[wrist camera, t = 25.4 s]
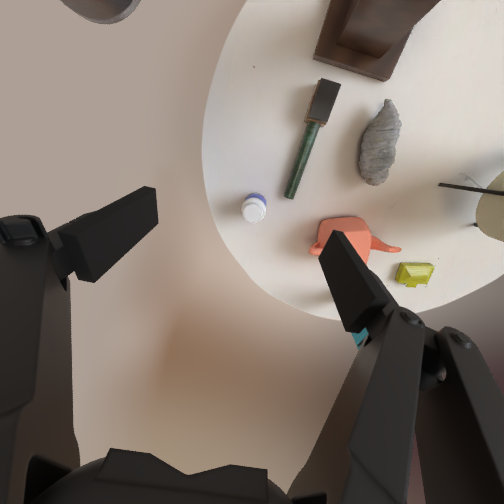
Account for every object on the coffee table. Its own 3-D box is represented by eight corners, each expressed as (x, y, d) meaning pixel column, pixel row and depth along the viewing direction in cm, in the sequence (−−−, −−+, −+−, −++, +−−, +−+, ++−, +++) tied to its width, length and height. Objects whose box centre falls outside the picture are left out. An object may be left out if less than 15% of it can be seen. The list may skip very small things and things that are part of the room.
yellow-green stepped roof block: (438, 258, 48) (447, 263, 45) (425, 287, 52) (433, 294, 49) (396, 257, 49) (403, 262, 46) (386, 286, 53) (392, 292, 50)
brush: (296, 199, 45) (297, 202, 42) (280, 194, 45) (280, 197, 41) (336, 90, 36) (343, 83, 32) (316, 84, 36) (320, 75, 32)
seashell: (410, 94, 33) (424, 106, 28) (381, 171, 43) (387, 189, 38) (369, 98, 35) (376, 110, 30) (350, 171, 44) (353, 189, 39)
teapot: (304, 218, 47) (311, 232, 38) (382, 211, 44) (411, 224, 35) (304, 258, 52) (310, 280, 42) (374, 254, 49) (398, 276, 40)
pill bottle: (243, 194, 46) (236, 201, 37) (265, 191, 45) (263, 198, 36) (246, 215, 48) (240, 227, 39) (267, 213, 47) (266, 225, 39)
